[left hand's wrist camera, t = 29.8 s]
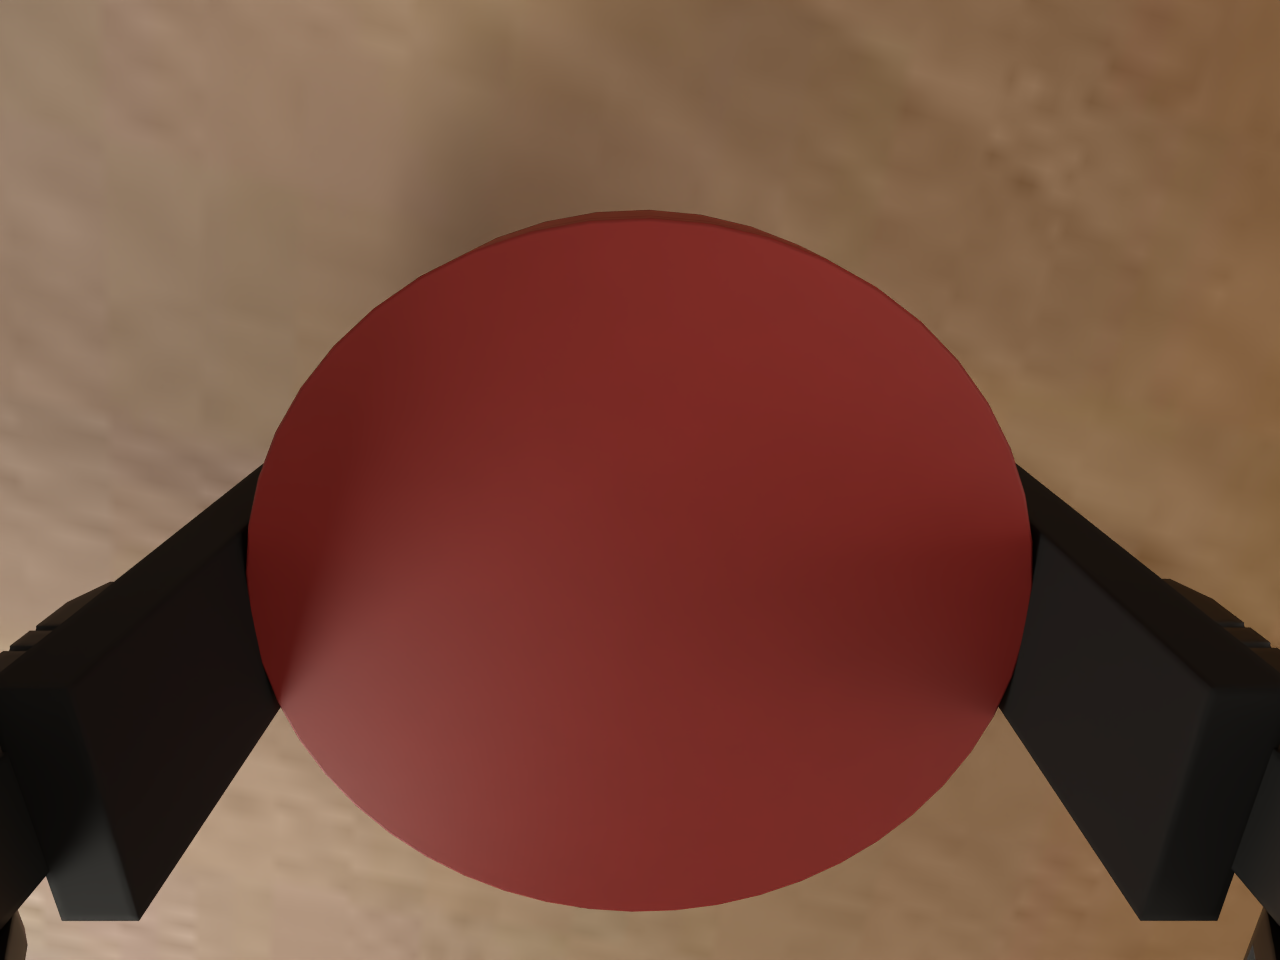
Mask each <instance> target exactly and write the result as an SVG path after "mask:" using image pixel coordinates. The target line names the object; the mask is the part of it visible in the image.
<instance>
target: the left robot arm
mask: <svg viewBox="0 0 1280 960" xmlns="http://www.w3.org/2000/svg"><path fill="white" fill-rule="evenodd" d="M263 464H264V463H263ZM263 464H262V465H261V466H260V467H258V468H257V469H256V470H255V471H253V472H252V473H251V474H250V475H248V476H247V477H246V478H245V479H243V480H242V481H241V482H239V483H238V484H237V485H236V486H234V487H233V488H232V489H231V490H229V491H228V492H227V493H226V494H224V495H223V496H222V497H221V498H219V499H218V500H217V501H215V502H214V503H213V504H212V505H210V506H209V507H208V508H207V509H205V510H204V511H203V512H202V513H200V514H199V515H198V516H197V517H195V518H194V519H193V520H192V521H190V522H189V523H188V524H186V525H185V526H184V527H183V528H181V529H180V530H179V531H178V532H176V533H175V534H174V535H173V536H171V537H170V538H169V539H168V540H166V541H165V542H164V543H162V544H161V545H160V546H159V547H157V548H156V549H155V550H154V551H152V552H151V553H150V554H149V555H147V556H146V557H145V558H144V559H142V560H141V561H140V562H138V563H137V564H136V565H135V566H133V567H132V568H131V569H130V570H128V571H127V572H126V573H125V574H123V575H122V576H121V577H120V578H118V579H117V580H116V581H115V582H109V583H107V584H105V585H102V586H100V587H98V588H96V589H94V590H92V591H90V592H88V593H86V594H83V595H81V596H79V597H77V598H75V599H73V600H71V601H69V602H67V603H66V604H64V605H63V606H62V607H60V608H59V609H58V610H56V611H55V612H54V613H53V614H51V615H50V616H49V617H47V618H46V619H45V620H43V621H42V622H41V623H39V624H38V625H37V626H36V631H29V632H28V633H26V634H25V635H24V636H22V637H21V638H20V639H18V640H17V641H16V642H15V643H13V644H12V645H11V646H10V650H9V651H3V652H1V653H0V960H25V957H26V951H27V940H26V934H25V928H24V925H23V923H22V920H21V917H20V915H19V912H18V909H19V907H20V906H21V905H22V904H23V903H24V901H25V900H26V899H27V898H28V897H29V895H30V894H31V893H32V892H33V891H34V889H35V888H36V887H37V886H38V885H39V884H40V882H41V881H42V880H43V879H44V878H45V876H46V877H47V880H48V883H49V886H50V888H51V891H52V894H53V897H54V900H55V903H56V905H57V908H58V911H59V914H60V917H61V920H62V921H139V920H140V919H141V917H142V916H143V914H144V913H145V911H146V909H147V908H148V906H149V905H150V903H151V902H152V900H153V899H154V897H155V896H156V894H157V893H158V891H159V890H160V888H161V887H162V885H163V884H164V882H165V881H166V879H167V878H168V876H169V875H170V873H171V872H172V870H173V869H174V867H175V866H176V864H177V863H178V861H179V860H180V858H181V857H182V855H183V854H184V852H185V851H186V849H187V848H188V846H189V845H190V843H191V842H192V840H193V839H194V837H195V836H196V834H197V833H198V831H199V830H200V828H201V826H202V825H203V823H204V822H205V820H206V819H207V817H208V816H209V814H210V813H211V811H212V810H213V808H214V807H215V805H216V804H217V802H218V801H219V799H220V798H221V796H222V795H223V793H224V792H225V790H226V789H227V787H228V786H229V784H230V783H231V781H232V780H233V778H234V777H235V775H236V774H237V772H238V771H239V769H240V768H241V766H242V765H243V763H244V762H245V760H246V759H247V757H248V756H249V754H250V753H251V751H252V750H253V748H254V746H255V745H256V743H257V742H258V740H259V739H260V737H261V736H262V734H263V733H264V731H265V730H266V728H267V727H268V725H269V724H270V722H271V721H272V719H273V718H274V716H275V715H276V713H277V712H278V710H279V709H280V705H279V703H278V701H277V699H276V696H275V694H274V691H273V689H272V687H271V684H270V682H269V679H268V677H267V674H266V672H265V669H264V667H263V664H262V660H261V655H260V650H259V645H258V641H257V636H256V631H255V626H254V621H253V616H252V611H251V605H250V600H249V594H248V588H247V578H246V562H247V543H248V525H249V520H250V515H251V510H252V506H253V501H254V496H255V491H256V487H257V482H258V478H259V475H260V472H261V470H262V467H263ZM1015 464H1016V463H1015ZM1016 467H1017V470H1018V473H1019V477H1020V480H1021V483H1022V486H1023V489H1024V493H1025V497H1026V503H1027V510H1028V516H1029V523H1030V530H1031V536H1032V589H1031V595H1030V600H1029V605H1028V610H1027V616H1026V621H1025V626H1024V631H1023V636H1022V641H1021V645H1020V650H1019V654H1018V659H1017V663H1016V666H1015V669H1014V673H1013V676H1012V678H1011V680H1010V682H1009V685H1008V687H1007V689H1006V691H1005V693H1004V695H1003V697H1002V700H1001V702H1000V704H999V706H998V707H999V708H1000V710H1001V711H1002V713H1003V714H1004V716H1005V717H1006V719H1007V720H1008V722H1009V723H1010V725H1011V726H1012V728H1013V729H1014V731H1015V732H1016V734H1017V735H1018V737H1019V738H1020V740H1021V741H1022V743H1023V744H1024V746H1025V747H1026V749H1027V750H1028V752H1029V753H1030V755H1031V756H1032V758H1033V759H1034V761H1035V762H1036V764H1037V765H1038V767H1039V768H1040V770H1041V771H1042V773H1043V774H1044V776H1045V777H1046V779H1047V781H1048V782H1049V784H1050V785H1051V787H1052V788H1053V790H1054V791H1055V793H1056V794H1057V796H1058V797H1059V799H1060V800H1061V802H1062V803H1063V805H1064V806H1065V808H1066V809H1067V811H1068V812H1069V814H1070V815H1071V817H1072V818H1073V820H1074V821H1075V823H1076V824H1077V826H1078V827H1079V829H1080V830H1081V832H1082V833H1083V835H1084V836H1085V838H1086V839H1087V841H1088V842H1089V844H1090V845H1091V847H1092V848H1093V850H1094V851H1095V853H1096V854H1097V856H1098V857H1099V859H1100V861H1101V862H1102V864H1103V865H1104V867H1105V868H1106V870H1107V871H1108V873H1109V874H1110V876H1111V877H1112V879H1113V880H1114V882H1115V883H1116V885H1117V886H1118V888H1119V889H1120V891H1121V892H1122V894H1123V895H1124V897H1125V898H1126V900H1127V901H1128V903H1129V904H1130V906H1131V907H1132V909H1133V910H1134V912H1135V913H1136V915H1137V916H1138V918H1139V919H1140V921H1217V920H1218V918H1219V915H1220V912H1221V909H1222V906H1223V903H1224V901H1225V898H1226V895H1227V892H1228V889H1229V886H1230V884H1231V881H1232V878H1233V875H1234V872H1235V874H1236V875H1237V876H1238V877H1239V878H1240V880H1241V881H1242V882H1243V883H1244V884H1245V886H1246V887H1247V888H1248V889H1249V890H1250V891H1251V893H1252V894H1253V895H1254V896H1255V897H1256V899H1257V900H1258V901H1259V902H1260V903H1261V905H1262V906H1263V909H1262V912H1261V915H1260V917H1259V920H1258V923H1257V925H1256V928H1255V931H1254V933H1253V936H1252V938H1251V941H1250V944H1249V946H1248V949H1247V952H1246V954H1245V957H1244V960H1280V650H1279V649H1278V648H1271V646H1270V642H1269V641H1267V640H1266V639H1265V638H1264V637H1262V636H1261V635H1260V634H1258V633H1257V632H1256V631H1254V630H1253V629H1252V628H1245V627H1244V622H1242V621H1241V620H1240V619H1238V618H1237V617H1236V616H1234V615H1233V614H1232V613H1230V612H1229V611H1228V610H1227V609H1225V608H1224V607H1223V606H1221V605H1220V604H1219V603H1217V602H1216V601H1215V600H1213V599H1212V598H1209V597H1207V596H1205V595H1203V594H1201V593H1199V592H1197V591H1195V590H1192V589H1190V588H1188V587H1186V586H1184V585H1182V584H1180V583H1178V582H1175V581H1173V580H1171V579H1161V578H1160V577H1159V576H1157V575H1156V574H1155V573H1154V572H1152V571H1151V570H1150V569H1148V568H1147V567H1146V566H1145V565H1143V564H1142V563H1141V562H1140V561H1138V560H1137V559H1136V558H1135V557H1133V556H1132V555H1131V554H1130V553H1128V552H1127V551H1126V550H1125V549H1123V548H1122V547H1121V546H1119V545H1118V544H1117V543H1116V542H1114V541H1113V540H1112V539H1111V538H1109V537H1108V536H1107V535H1106V534H1104V533H1103V532H1102V531H1101V530H1099V529H1098V528H1097V527H1095V526H1094V525H1093V524H1092V523H1090V522H1089V521H1088V520H1087V519H1085V518H1084V517H1083V516H1082V515H1080V514H1079V513H1078V512H1077V511H1075V510H1074V509H1073V508H1072V507H1070V506H1069V505H1068V504H1066V503H1065V502H1064V501H1063V500H1061V499H1060V498H1059V497H1058V496H1056V495H1055V494H1054V493H1053V492H1051V491H1050V490H1049V489H1048V488H1046V487H1045V486H1044V485H1042V484H1041V483H1040V482H1039V481H1037V480H1036V479H1035V478H1034V477H1032V476H1031V475H1030V474H1029V473H1027V472H1026V471H1025V470H1024V469H1022V468H1021V467H1020V466H1019V465H1017V464H1016Z"/></svg>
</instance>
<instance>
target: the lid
mask: <svg viewBox="0 0 1280 960" xmlns="http://www.w3.org/2000/svg"><path fill="white" fill-rule="evenodd" d="M246 578H247V588H248V594H249V600H250V605H251V611H252V616H253V621H254V626H255V631H256V636H257V641H258V645H259V650H260V655H261V660H262V664H263V667H264V669H265V672H266V674H267V677H268V679H269V682H270V684H271V687H272V689H273V691H274V694H275V696H276V699H277V701H278V703H279V705H280V707H281V709H282V710H283V712H284V714H285V716H286V717H287V719H288V721H289V722H290V724H291V726H292V728H293V729H294V731H295V733H296V735H297V736H298V738H299V740H300V741H301V743H302V744H303V745H304V747H305V748H306V749H307V750H308V752H309V753H310V754H311V756H312V757H313V758H314V760H315V761H316V762H317V764H318V765H319V766H320V768H321V769H322V770H323V772H324V773H325V774H326V775H327V776H328V777H329V778H330V779H331V780H332V781H333V783H334V784H335V785H336V786H337V787H338V788H339V789H340V790H341V791H342V792H343V793H344V794H345V795H346V796H347V797H348V798H349V799H350V800H351V801H352V802H353V803H354V804H355V805H356V806H357V807H358V808H360V809H361V810H362V811H363V812H364V813H366V814H367V815H368V816H369V817H371V818H372V819H373V820H374V821H375V822H377V823H378V824H379V825H380V826H382V827H383V828H384V829H385V830H387V831H388V832H389V833H390V834H392V835H394V836H395V837H397V838H398V839H400V840H401V841H403V842H404V843H406V844H408V845H409V846H411V847H412V848H414V849H415V850H417V851H418V852H420V853H422V854H423V855H425V856H426V857H428V858H430V859H432V860H434V861H436V862H438V863H440V864H442V865H444V866H446V867H448V868H450V869H452V870H454V871H456V872H458V873H460V874H462V875H464V876H467V877H470V878H472V879H475V880H478V881H480V882H483V883H486V884H488V885H491V886H493V887H496V888H499V889H501V890H504V891H508V892H511V893H515V894H519V895H523V896H526V897H530V898H534V899H538V900H541V901H545V902H551V903H557V904H563V905H569V906H575V907H581V908H587V909H600V910H616V911H631V912H633V911H665V910H680V909H688V908H696V907H704V906H711V905H719V904H723V903H727V902H732V901H736V900H740V899H745V898H749V897H753V896H758V895H761V894H764V893H767V892H770V891H773V890H776V889H779V888H782V887H785V886H788V885H791V884H794V883H797V882H800V881H802V880H804V879H807V878H809V877H811V876H813V875H815V874H818V873H820V872H822V871H824V870H826V869H828V868H831V867H833V866H835V865H837V864H839V863H841V862H843V861H845V860H846V859H848V858H850V857H851V856H853V855H855V854H856V853H858V852H860V851H862V850H863V849H865V848H867V847H868V846H870V845H872V844H873V843H875V842H877V841H878V840H880V839H881V838H882V837H884V836H885V835H886V834H888V833H889V832H890V831H892V830H893V829H894V828H896V827H897V826H898V825H900V824H901V823H902V822H904V821H905V820H906V819H908V818H909V817H910V816H912V815H913V814H914V813H915V812H916V811H917V810H918V809H919V808H920V807H921V806H922V805H923V804H924V803H925V802H926V801H927V800H928V799H930V798H931V797H932V796H933V795H934V794H935V793H936V792H937V791H938V790H939V789H940V788H941V787H942V786H943V785H944V784H945V783H946V782H947V780H948V779H949V778H950V777H951V776H952V774H953V773H954V772H955V771H956V769H957V768H958V767H959V766H960V765H961V763H962V762H963V761H964V760H965V759H966V757H967V756H968V755H969V754H970V753H971V751H972V750H973V748H974V746H975V745H976V743H977V742H978V740H979V739H980V737H981V735H982V734H983V732H984V731H985V729H986V728H987V726H988V724H989V723H990V721H991V720H992V718H993V717H994V715H995V713H996V710H997V708H998V706H999V704H1000V702H1001V700H1002V697H1003V695H1004V693H1005V691H1006V689H1007V687H1008V685H1009V682H1010V680H1011V678H1012V676H1013V673H1014V669H1015V666H1016V663H1017V659H1018V654H1019V650H1020V645H1021V641H1022V636H1023V631H1024V626H1025V621H1026V616H1027V610H1028V605H1029V600H1030V595H1031V589H1032V536H1031V530H1030V523H1029V516H1028V510H1027V503H1026V497H1025V493H1024V489H1023V486H1022V483H1021V480H1020V477H1019V473H1018V470H1017V467H1016V464H1015V461H1014V458H1013V454H1012V451H1011V448H1010V446H1009V444H1008V442H1007V440H1006V438H1005V436H1004V434H1003V432H1002V430H1001V428H1000V426H999V424H998V422H997V420H996V418H995V416H994V414H993V412H992V410H991V408H990V406H989V404H988V402H987V401H986V399H985V398H984V396H983V395H982V394H981V392H980V391H979V389H978V388H977V387H976V385H975V384H974V382H973V381H972V379H971V378H970V377H969V375H968V374H967V372H966V371H965V369H964V368H963V367H962V365H961V364H960V362H959V361H958V360H957V359H956V358H955V357H954V356H953V355H952V354H951V352H950V351H949V350H948V349H947V348H946V347H945V346H944V345H943V344H942V343H941V342H940V341H939V340H938V339H937V338H936V337H935V336H934V335H933V334H932V333H931V332H930V331H929V330H928V328H927V327H926V326H925V325H924V324H923V323H922V322H921V321H919V320H918V319H917V318H916V317H914V316H913V315H912V314H910V313H909V312H908V311H907V310H905V309H904V308H903V307H901V306H900V305H899V304H898V303H896V302H895V301H894V300H892V299H891V298H890V297H888V296H887V295H886V294H885V293H883V292H882V291H881V290H879V289H878V288H877V287H875V286H873V285H872V284H870V283H868V282H866V281H865V280H863V279H861V278H859V277H857V276H856V275H854V274H852V273H850V272H849V271H847V270H845V269H843V268H841V267H840V266H838V265H836V264H834V263H833V262H831V261H829V260H827V259H825V258H823V257H821V256H819V255H817V254H815V253H813V252H811V251H809V250H807V249H805V248H803V247H801V246H799V245H797V244H794V243H792V242H789V241H787V240H784V239H782V238H779V237H776V236H774V235H771V234H769V233H766V232H764V231H761V230H759V229H756V228H753V227H750V226H746V225H742V224H738V223H733V222H729V221H725V220H721V219H717V218H712V217H708V216H704V215H698V214H687V213H676V212H666V211H655V210H636V211H614V212H595V213H590V214H585V215H579V216H574V217H568V218H563V219H557V220H552V221H547V222H543V223H540V224H537V225H534V226H531V227H528V228H525V229H522V230H519V231H516V232H513V233H510V234H507V235H504V236H501V237H498V238H496V239H494V240H492V241H490V242H488V243H486V244H484V245H482V246H480V247H478V248H476V249H474V250H472V251H470V252H468V253H466V254H464V255H462V256H460V257H458V258H456V259H454V260H452V261H450V262H448V263H446V264H444V265H442V266H440V267H438V268H436V269H434V270H432V271H430V272H428V273H426V274H424V275H422V276H420V277H419V278H417V279H416V280H414V281H413V282H411V283H410V284H408V285H407V286H406V287H404V288H403V289H401V290H400V291H398V292H397V293H395V294H394V295H393V296H391V297H390V298H388V299H387V300H385V301H384V302H382V303H381V304H380V305H378V306H377V307H375V308H374V309H373V310H372V311H371V312H370V313H368V314H367V315H366V316H365V317H364V318H363V319H362V320H361V321H360V322H359V323H358V324H357V325H356V326H355V327H353V328H352V329H351V330H350V331H349V332H348V333H347V334H346V335H345V336H344V337H343V338H342V339H341V340H340V341H339V342H337V343H336V344H335V345H334V346H333V348H332V349H331V350H330V351H329V353H328V354H327V355H326V356H325V358H324V359H323V360H322V361H321V363H320V364H319V365H318V367H317V368H316V369H315V370H314V372H313V373H312V374H311V375H310V377H309V378H308V379H307V380H306V382H305V383H304V384H303V386H302V387H301V388H300V390H299V392H298V393H297V395H296V397H295V399H294V401H293V402H292V404H291V406H290V408H289V409H288V411H287V413H286V415H285V416H284V418H283V420H282V422H281V424H280V425H279V427H278V429H277V431H276V432H275V435H274V438H273V440H272V443H271V446H270V448H269V451H268V454H267V456H266V459H265V462H264V464H263V467H262V470H261V472H260V475H259V478H258V482H257V487H256V491H255V496H254V501H253V506H252V510H251V515H250V520H249V525H248V543H247V562H246Z"/></svg>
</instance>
